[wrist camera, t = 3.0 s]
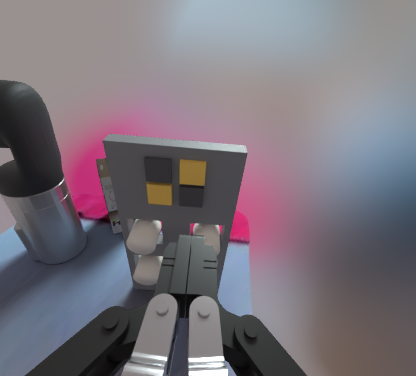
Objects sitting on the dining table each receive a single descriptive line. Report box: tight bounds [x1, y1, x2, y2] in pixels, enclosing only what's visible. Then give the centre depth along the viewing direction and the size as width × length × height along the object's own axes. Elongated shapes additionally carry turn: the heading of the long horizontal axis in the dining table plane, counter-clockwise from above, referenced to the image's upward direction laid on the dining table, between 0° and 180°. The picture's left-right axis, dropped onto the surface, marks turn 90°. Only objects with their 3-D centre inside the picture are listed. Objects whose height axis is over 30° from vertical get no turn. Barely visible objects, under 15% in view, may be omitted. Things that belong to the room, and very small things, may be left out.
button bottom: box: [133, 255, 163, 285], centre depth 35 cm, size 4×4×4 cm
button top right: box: [193, 224, 220, 256], centre depth 31 cm, size 4×4×4 cm
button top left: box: [126, 219, 161, 255], centre depth 30 cm, size 4×4×4 cm
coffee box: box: [96, 158, 136, 234], centre depth 50 cm, size 9×6×16 cm
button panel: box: [103, 134, 247, 294], centre depth 35 cm, size 9×16×30 cm, turn 89°
